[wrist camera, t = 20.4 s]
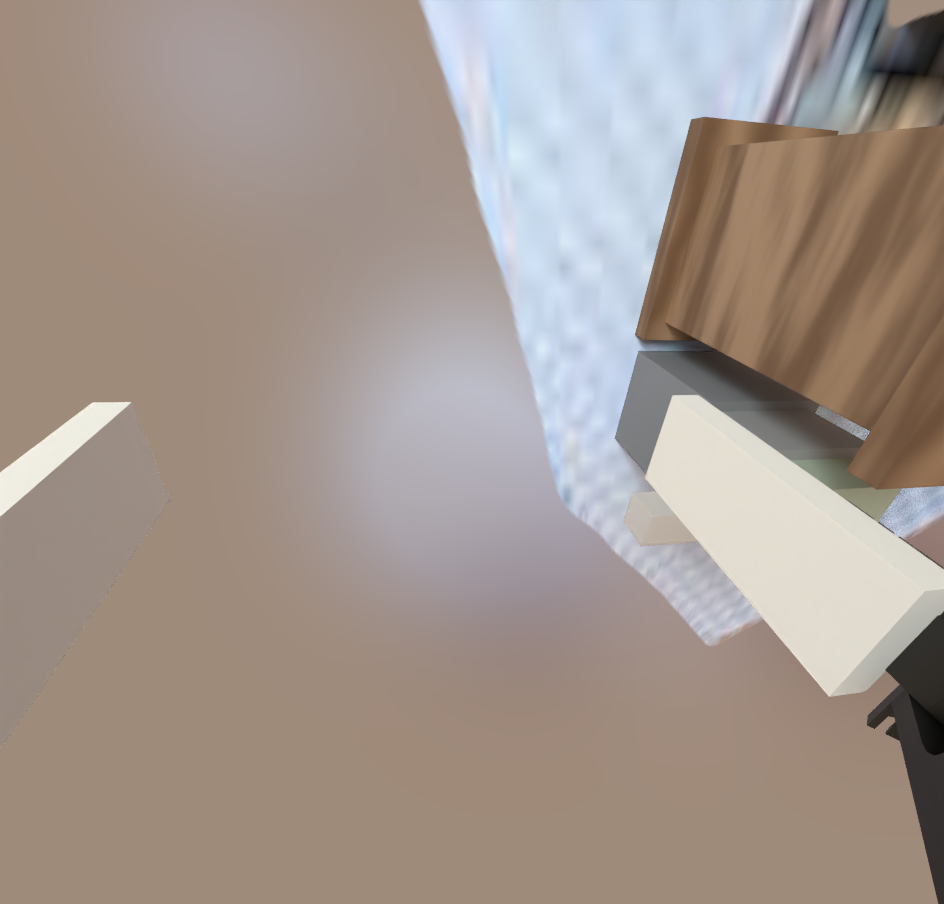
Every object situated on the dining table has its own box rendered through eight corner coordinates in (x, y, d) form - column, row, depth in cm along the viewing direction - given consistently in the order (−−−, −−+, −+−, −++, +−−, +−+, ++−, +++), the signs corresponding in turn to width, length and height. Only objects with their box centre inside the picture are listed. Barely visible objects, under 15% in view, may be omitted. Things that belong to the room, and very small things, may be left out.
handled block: (616, 542, 38) (638, 578, 34) (641, 466, 33) (668, 498, 30) (812, 528, 41) (849, 559, 38) (857, 457, 37) (903, 485, 33)
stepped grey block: (615, 438, 58) (712, 551, 40) (638, 351, 52) (765, 440, 34) (695, 435, 60) (821, 542, 42) (727, 351, 54) (891, 436, 36)
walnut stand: (635, 334, 50) (875, 489, 25) (691, 119, 40) (1199, 22, 15) (741, 335, 53) (1057, 479, 28) (820, 132, 42) (1449, 68, 17)
